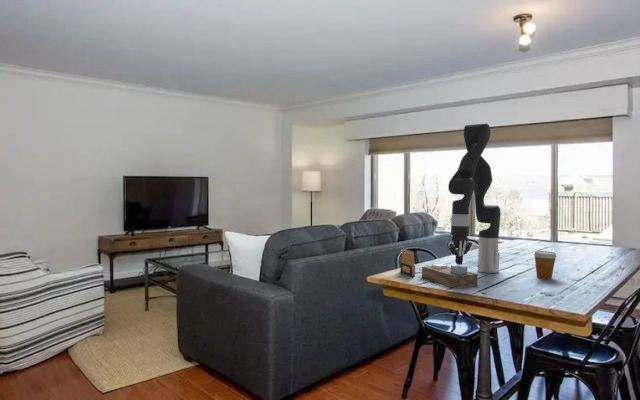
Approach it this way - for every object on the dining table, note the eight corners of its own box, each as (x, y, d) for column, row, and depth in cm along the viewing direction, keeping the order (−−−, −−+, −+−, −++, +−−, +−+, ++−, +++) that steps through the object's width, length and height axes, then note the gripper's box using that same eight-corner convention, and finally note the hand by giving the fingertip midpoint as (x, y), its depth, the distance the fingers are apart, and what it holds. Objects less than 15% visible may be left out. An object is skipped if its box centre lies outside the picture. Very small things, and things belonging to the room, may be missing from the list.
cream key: (439, 272, 203) (440, 263, 203) (447, 274, 199) (447, 265, 199) (431, 273, 201) (432, 264, 201) (439, 275, 197) (439, 266, 196)
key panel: (441, 275, 207) (442, 264, 207) (477, 285, 188) (477, 274, 187) (421, 277, 202) (422, 266, 202) (456, 288, 182) (456, 276, 182)
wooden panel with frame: (414, 276, 203) (415, 251, 203) (411, 277, 203) (412, 251, 202) (403, 272, 213) (404, 247, 213) (400, 272, 213) (400, 247, 212)
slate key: (458, 273, 192) (459, 264, 192) (467, 275, 188) (467, 266, 188) (450, 274, 190) (450, 265, 190) (458, 276, 186) (458, 267, 186)
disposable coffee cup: (554, 276, 208) (555, 251, 207) (556, 280, 199) (557, 254, 199) (532, 274, 212) (533, 250, 211) (533, 278, 203) (534, 252, 203)
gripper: (465, 223, 194) (463, 261, 195) (442, 224, 189) (441, 263, 189) (478, 224, 188) (476, 264, 188) (455, 225, 182) (453, 267, 183)
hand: (459, 264), depth 189 cm, fingers closed
